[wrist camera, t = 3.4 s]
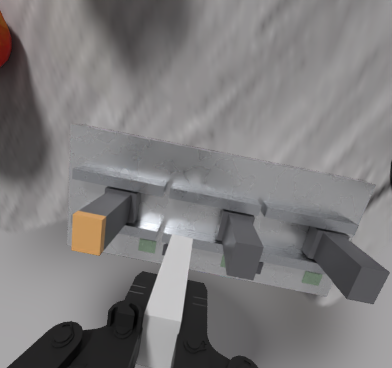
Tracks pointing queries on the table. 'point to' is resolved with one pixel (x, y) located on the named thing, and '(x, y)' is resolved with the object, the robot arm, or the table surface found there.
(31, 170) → the table surface
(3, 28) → the apple
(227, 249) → the breaker mid
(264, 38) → the table surface
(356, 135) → the table surface
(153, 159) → the breaker panel
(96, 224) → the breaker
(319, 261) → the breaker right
